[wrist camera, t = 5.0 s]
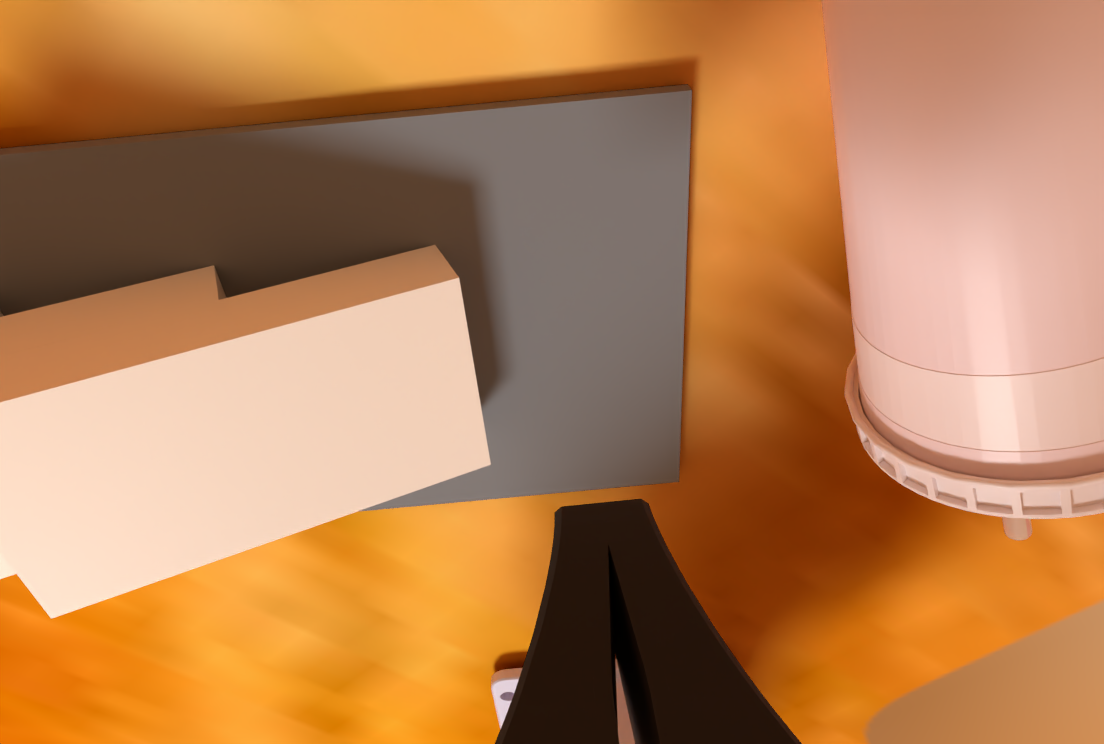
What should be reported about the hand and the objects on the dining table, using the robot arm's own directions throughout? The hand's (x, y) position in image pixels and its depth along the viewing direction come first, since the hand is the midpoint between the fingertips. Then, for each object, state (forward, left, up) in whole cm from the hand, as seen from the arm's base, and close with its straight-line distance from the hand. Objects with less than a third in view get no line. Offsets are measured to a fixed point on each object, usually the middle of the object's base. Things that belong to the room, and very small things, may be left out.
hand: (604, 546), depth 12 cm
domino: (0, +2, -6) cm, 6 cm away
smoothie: (+9, -5, -4) cm, 11 cm away
